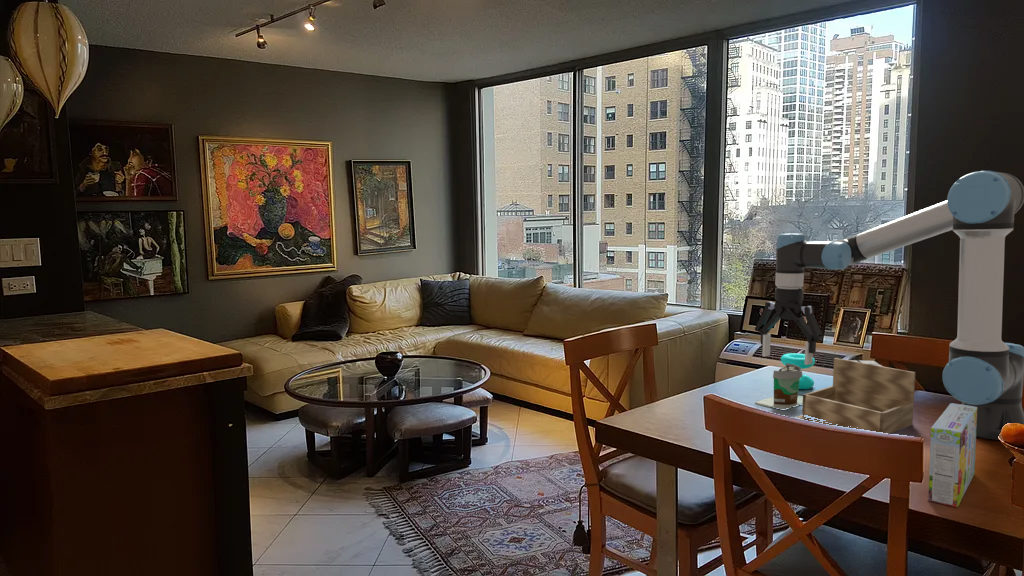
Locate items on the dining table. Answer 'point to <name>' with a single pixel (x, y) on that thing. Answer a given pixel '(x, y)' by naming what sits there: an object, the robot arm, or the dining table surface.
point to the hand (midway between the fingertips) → (786, 359)
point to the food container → (787, 384)
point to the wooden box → (864, 398)
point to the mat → (770, 403)
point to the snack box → (952, 454)
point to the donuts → (799, 360)
